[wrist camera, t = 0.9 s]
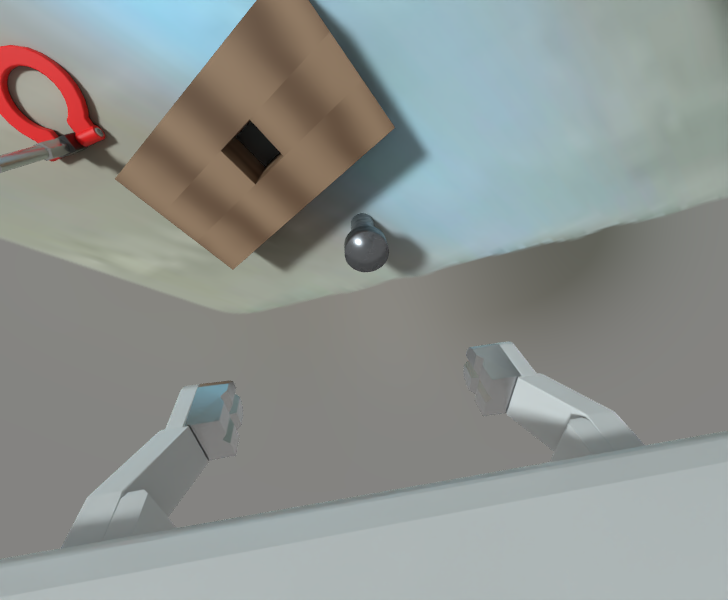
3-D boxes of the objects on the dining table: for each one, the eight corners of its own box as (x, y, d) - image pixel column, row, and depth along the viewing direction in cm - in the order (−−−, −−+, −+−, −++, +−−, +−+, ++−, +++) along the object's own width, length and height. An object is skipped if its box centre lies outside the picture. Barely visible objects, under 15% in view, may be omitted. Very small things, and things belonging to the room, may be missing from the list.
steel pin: (365, 197, 42) (370, 224, 35) (388, 225, 44) (397, 255, 38) (335, 222, 43) (335, 251, 37) (359, 247, 46) (363, 279, 40)
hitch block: (292, -23, 29) (284, -35, 24) (386, 116, 36) (395, 127, 32) (142, 161, 37) (114, 178, 33) (243, 245, 44) (232, 269, 40)
